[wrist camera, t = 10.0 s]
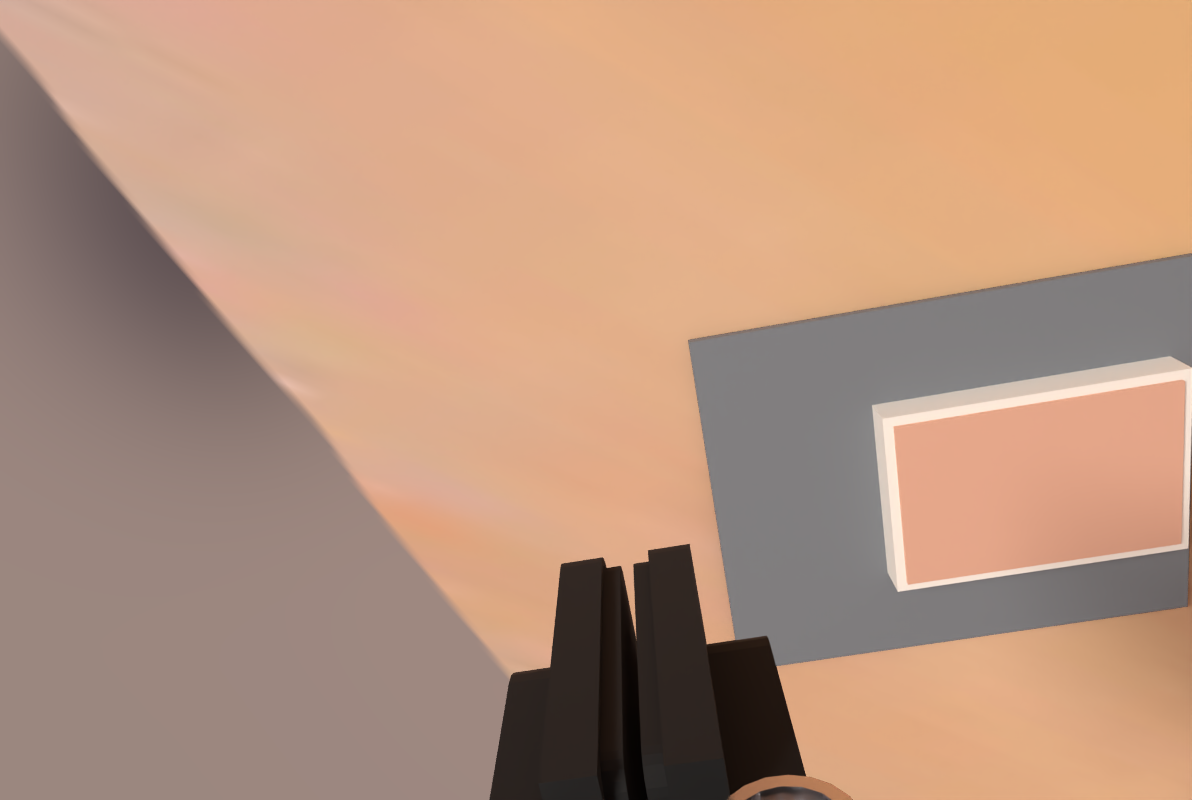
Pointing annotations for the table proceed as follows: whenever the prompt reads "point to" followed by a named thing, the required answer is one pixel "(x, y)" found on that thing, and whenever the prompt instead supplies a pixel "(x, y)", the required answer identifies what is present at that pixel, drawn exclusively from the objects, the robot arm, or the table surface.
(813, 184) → the table surface
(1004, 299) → the mat
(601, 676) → the robot arm
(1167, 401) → the tile
